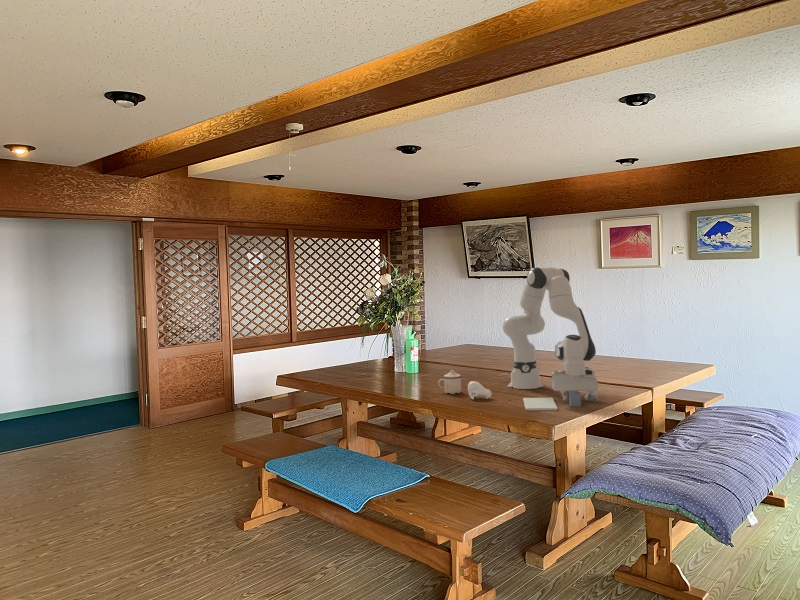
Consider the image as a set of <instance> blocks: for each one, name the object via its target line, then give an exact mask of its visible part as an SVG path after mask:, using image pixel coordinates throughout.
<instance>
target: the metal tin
mask: <svg viewBox="0 0 800 600" xmlns="http://www.w3.org/2000/svg"><path fill="white" fill-rule="evenodd" d="M598 390H599V388H598V389H597V390H595V391H590V394H589V396H588V400H586V402H587V401H588V402H587V403H591V402H595V403H598V402H599V399H598V398H599V392H598ZM597 401H598V402H597Z"/></svg>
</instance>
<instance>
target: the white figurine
mask: <svg viewBox="0 0 800 600" xmlns="http://www.w3.org/2000/svg"><path fill="white" fill-rule="evenodd" d="M467 393H468V395H469V397H470V399H472V400H475V398H476V397H481V396H482V397H483V396H484V397H485V399H486V400H488V398H489V399H490V398H491V396H492V394H493V393H492V390H490V389H487V388H486V387H484V386H483V385H482V384H481V383H480V382H478V381H473V380H472V381H469V383H468V384H467ZM474 397H475V398H474Z"/></svg>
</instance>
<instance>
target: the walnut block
mask: <svg viewBox="0 0 800 600" xmlns="http://www.w3.org/2000/svg"><path fill="white" fill-rule="evenodd" d="M569 392H579V391H566V397H567V398H566V399H567V400H566V402H567V401H568V402H567V403H568V404H569Z"/></svg>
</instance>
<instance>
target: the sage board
mask: <svg viewBox="0 0 800 600" xmlns="http://www.w3.org/2000/svg"><path fill="white" fill-rule="evenodd" d="M522 401H523V404H524V408H525V411H558V406H557V404H556V402H555V400H554V398H553V397H523V398H522Z"/></svg>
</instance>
